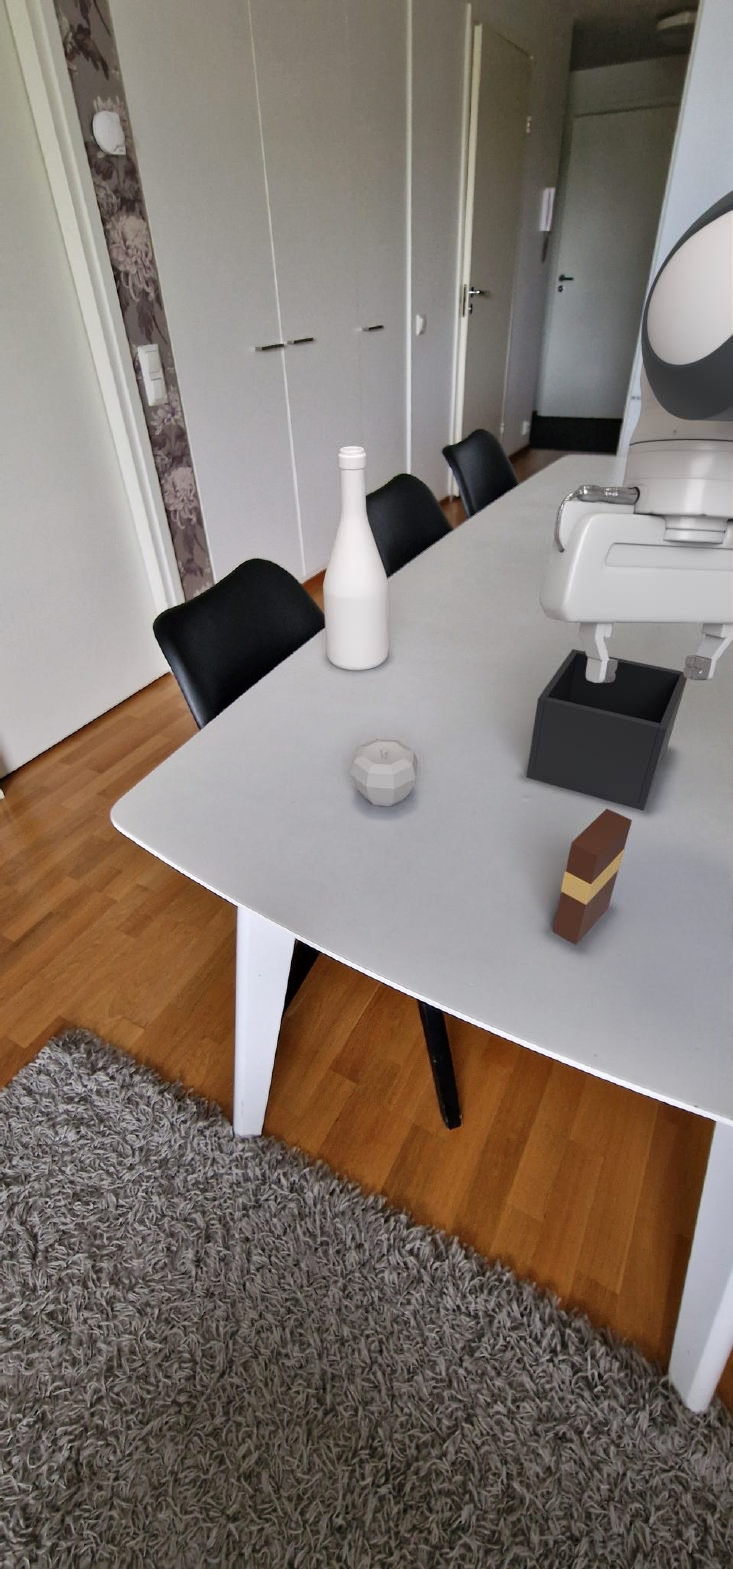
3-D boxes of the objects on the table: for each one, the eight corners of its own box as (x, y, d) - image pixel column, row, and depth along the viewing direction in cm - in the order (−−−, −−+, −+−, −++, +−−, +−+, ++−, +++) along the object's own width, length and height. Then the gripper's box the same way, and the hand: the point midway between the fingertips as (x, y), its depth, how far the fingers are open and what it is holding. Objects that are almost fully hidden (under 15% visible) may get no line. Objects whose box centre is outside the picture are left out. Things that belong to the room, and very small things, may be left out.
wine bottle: (392, 646, 112) (393, 441, 94) (382, 674, 105) (381, 458, 87) (334, 642, 114) (325, 440, 96) (320, 670, 106) (307, 456, 88)
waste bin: (666, 749, 88) (688, 672, 81) (643, 810, 78) (667, 728, 72) (559, 723, 93) (572, 648, 87) (526, 777, 84) (537, 698, 77)
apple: (427, 812, 79) (429, 764, 75) (359, 824, 77) (358, 776, 73) (406, 771, 85) (407, 725, 81) (343, 782, 83) (341, 736, 80)
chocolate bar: (608, 908, 67) (633, 819, 60) (576, 945, 63) (598, 856, 57) (585, 895, 68) (606, 807, 61) (551, 931, 65) (570, 842, 58)
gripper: (589, 480, 45) (558, 692, 50) (827, 500, 51) (779, 686, 56) (537, 483, 50) (514, 674, 55) (757, 501, 57) (719, 670, 62)
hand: (649, 680), depth 56 cm, fingers open, 8 cm apart
